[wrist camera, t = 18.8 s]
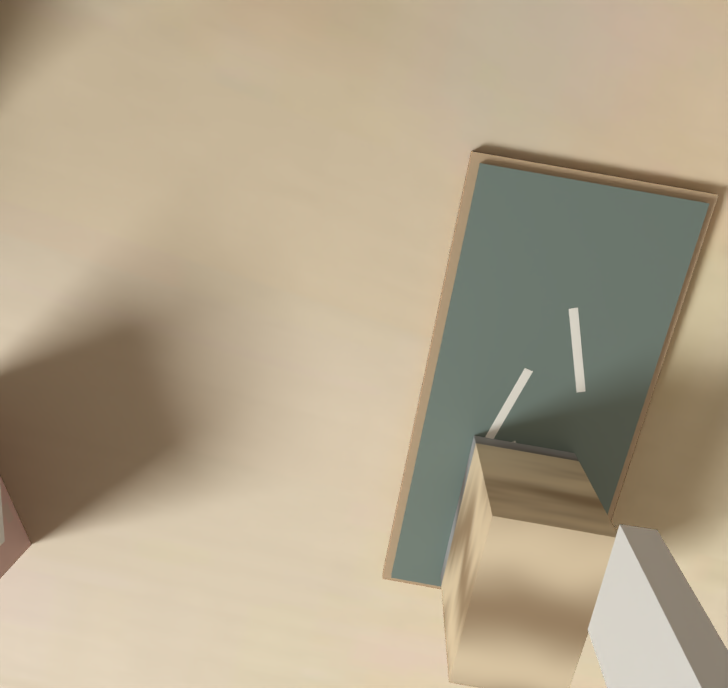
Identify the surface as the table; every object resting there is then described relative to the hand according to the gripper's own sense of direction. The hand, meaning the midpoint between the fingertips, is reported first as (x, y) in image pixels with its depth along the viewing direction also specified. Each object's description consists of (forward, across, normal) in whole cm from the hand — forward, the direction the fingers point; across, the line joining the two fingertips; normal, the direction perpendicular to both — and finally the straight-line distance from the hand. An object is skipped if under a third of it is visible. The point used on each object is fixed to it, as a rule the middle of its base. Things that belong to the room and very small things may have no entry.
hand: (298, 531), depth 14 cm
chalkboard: (+24, +10, -7) cm, 27 cm away
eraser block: (+23, +10, -14) cm, 29 cm away
